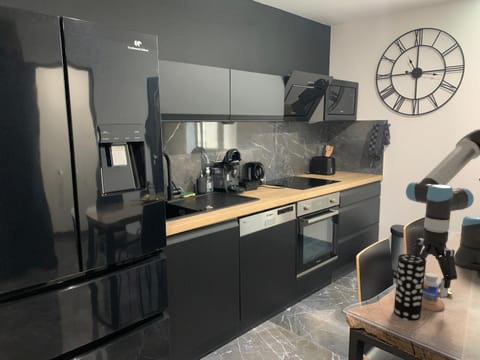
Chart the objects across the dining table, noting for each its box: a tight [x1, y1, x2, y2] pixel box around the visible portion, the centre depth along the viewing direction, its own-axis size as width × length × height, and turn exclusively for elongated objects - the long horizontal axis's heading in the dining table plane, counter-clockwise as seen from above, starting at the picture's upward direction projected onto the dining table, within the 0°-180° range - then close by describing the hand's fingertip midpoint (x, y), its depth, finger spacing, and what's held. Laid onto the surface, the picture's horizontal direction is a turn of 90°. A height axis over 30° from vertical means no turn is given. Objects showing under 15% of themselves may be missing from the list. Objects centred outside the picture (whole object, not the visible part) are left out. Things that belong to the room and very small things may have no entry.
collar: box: [437, 281, 453, 299], centre depth 136 cm, size 9×12×2 cm
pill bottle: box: [422, 272, 440, 304], centre depth 125 cm, size 5×5×10 cm
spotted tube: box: [393, 253, 427, 322], centre depth 117 cm, size 8×8×20 cm
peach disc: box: [422, 298, 446, 312], centre depth 126 cm, size 10×10×1 cm
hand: (430, 288), depth 125 cm, fingers open, 10 cm apart
